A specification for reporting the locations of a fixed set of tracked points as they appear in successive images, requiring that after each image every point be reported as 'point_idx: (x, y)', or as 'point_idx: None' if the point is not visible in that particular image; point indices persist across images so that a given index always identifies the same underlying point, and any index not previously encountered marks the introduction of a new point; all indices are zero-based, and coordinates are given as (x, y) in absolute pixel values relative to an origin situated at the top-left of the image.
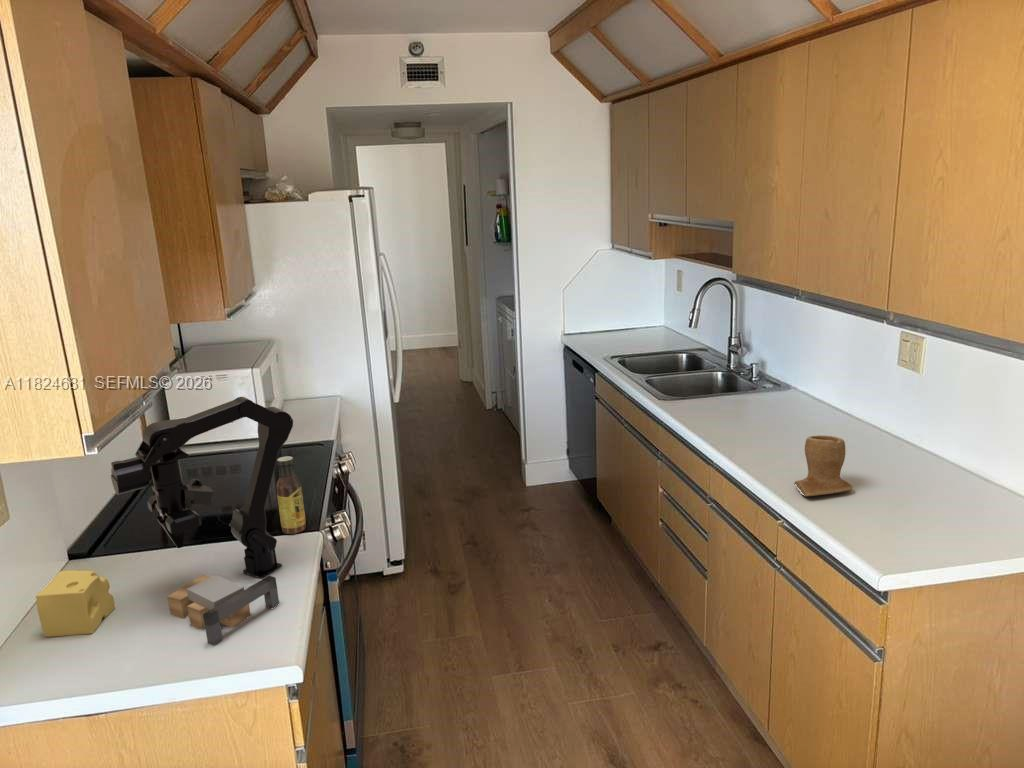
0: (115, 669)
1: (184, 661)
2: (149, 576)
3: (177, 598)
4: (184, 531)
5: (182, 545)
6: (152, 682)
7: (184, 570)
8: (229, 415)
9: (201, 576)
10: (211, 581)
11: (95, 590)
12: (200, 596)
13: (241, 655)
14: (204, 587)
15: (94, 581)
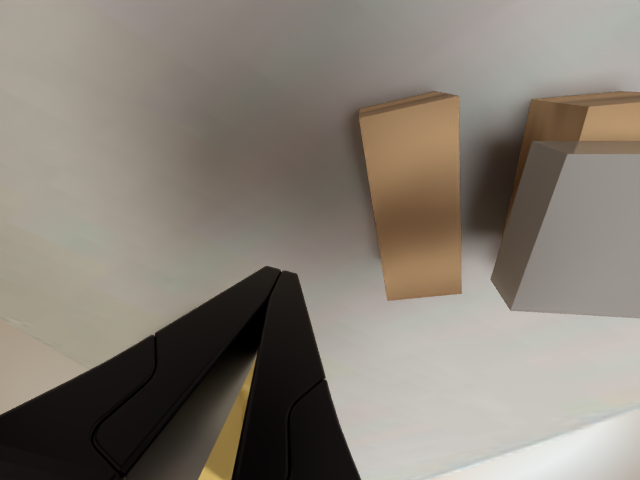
0: (470, 415)
1: (623, 358)
2: (79, 163)
3: (439, 292)
4: (337, 425)
5: (298, 283)
6: (598, 415)
7: (109, 53)
8: None
9: (368, 135)
10: (597, 216)
11: (224, 432)
12: (635, 315)
13: None
14: (602, 269)
15: (209, 463)
